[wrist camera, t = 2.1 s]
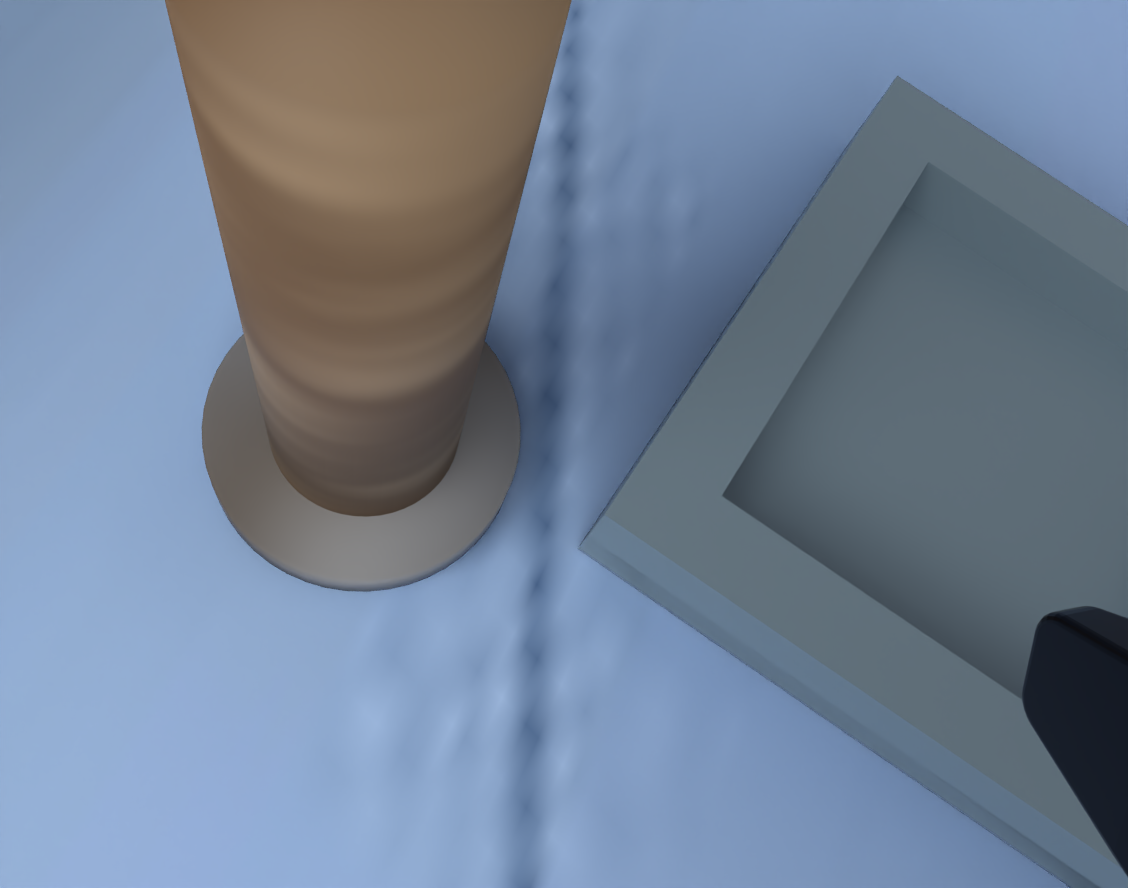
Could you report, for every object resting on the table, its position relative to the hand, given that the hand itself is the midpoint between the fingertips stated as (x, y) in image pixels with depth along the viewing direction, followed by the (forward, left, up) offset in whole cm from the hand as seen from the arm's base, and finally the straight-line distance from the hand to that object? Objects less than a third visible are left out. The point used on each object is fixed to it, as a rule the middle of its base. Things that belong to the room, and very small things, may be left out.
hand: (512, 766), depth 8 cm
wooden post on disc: (+5, -5, -12) cm, 14 cm away
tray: (-6, -12, -12) cm, 18 cm away
